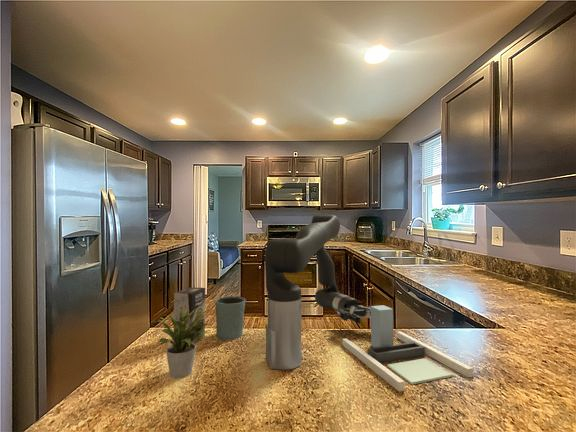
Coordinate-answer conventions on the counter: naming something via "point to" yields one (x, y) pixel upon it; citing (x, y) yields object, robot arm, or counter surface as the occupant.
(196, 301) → the coffee box
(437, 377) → the pad
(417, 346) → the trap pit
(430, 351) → the lane rails
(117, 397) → the counter surface
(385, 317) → the grey tall block
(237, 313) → the teal cup
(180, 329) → the house plant
